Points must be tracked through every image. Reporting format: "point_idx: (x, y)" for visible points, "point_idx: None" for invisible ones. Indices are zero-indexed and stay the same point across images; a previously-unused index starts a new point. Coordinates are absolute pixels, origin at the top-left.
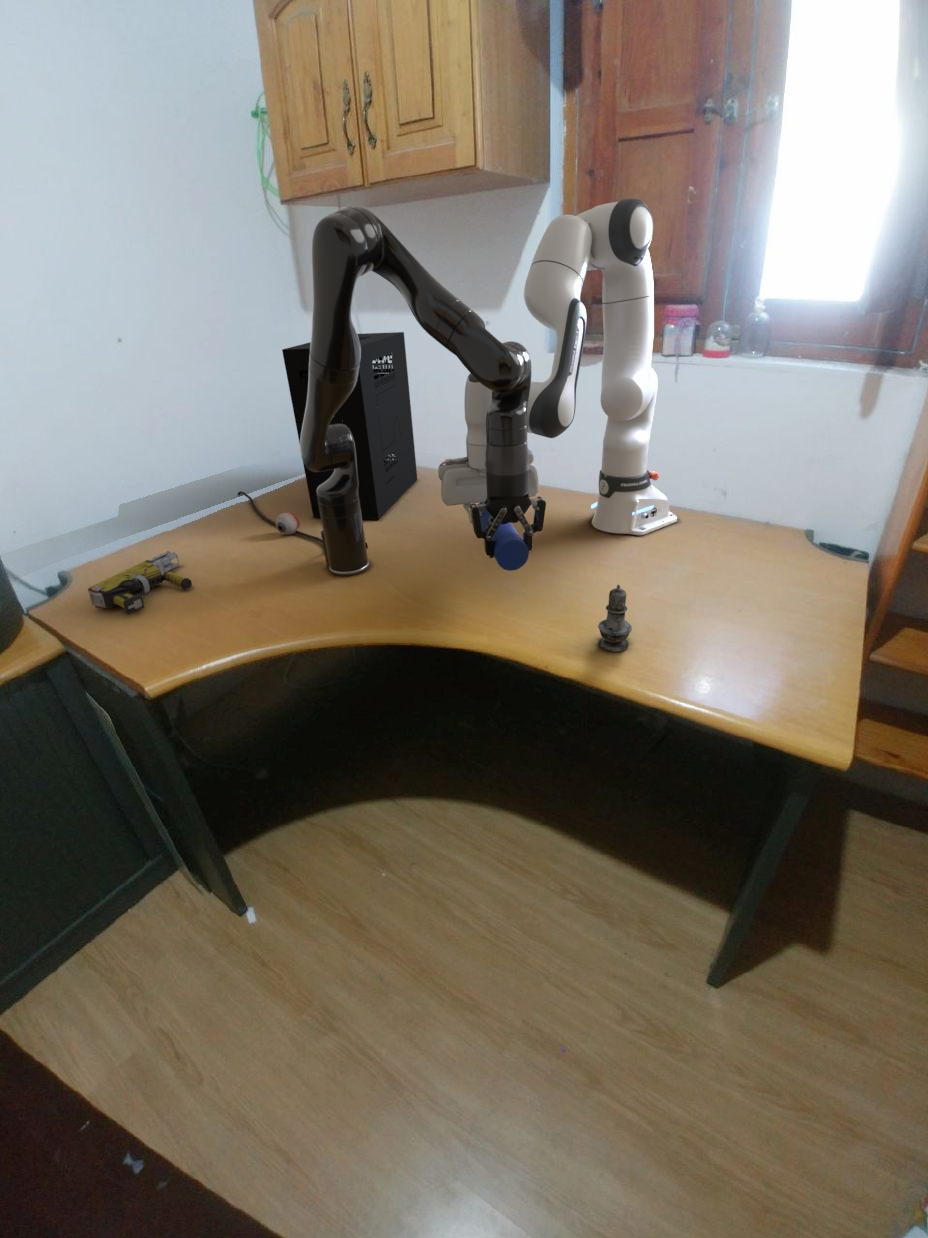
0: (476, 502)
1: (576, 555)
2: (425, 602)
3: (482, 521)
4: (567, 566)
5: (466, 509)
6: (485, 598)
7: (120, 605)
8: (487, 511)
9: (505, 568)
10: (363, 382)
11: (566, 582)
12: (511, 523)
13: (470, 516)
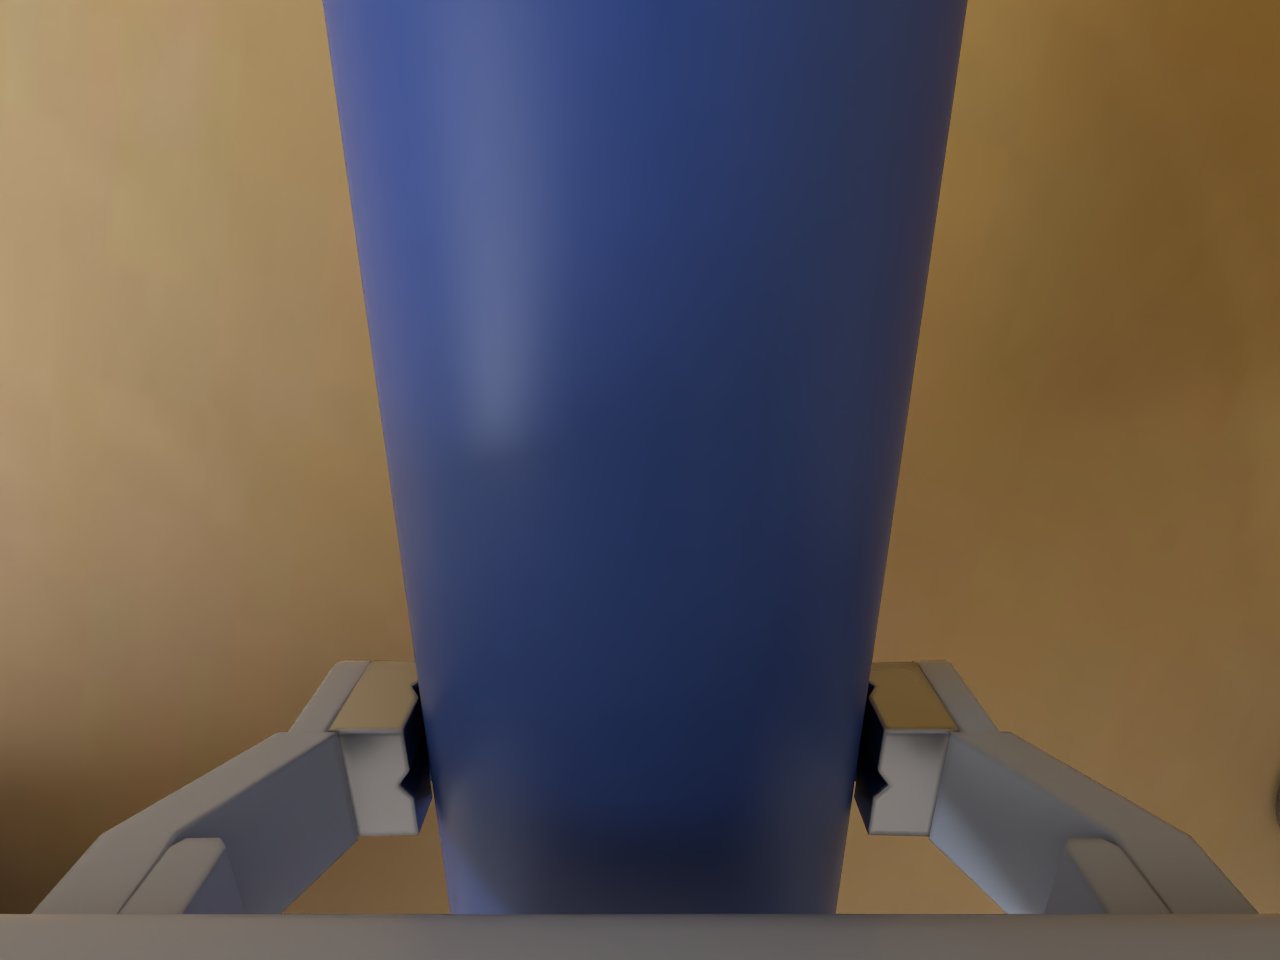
0: (1031, 915)
1: (65, 610)
2: (1154, 219)
3: (906, 406)
4: (132, 482)
5: (1141, 821)
6: None
7: None
8: (771, 639)
9: None
10: None
11: (155, 254)
12: (339, 64)
13: (990, 720)
